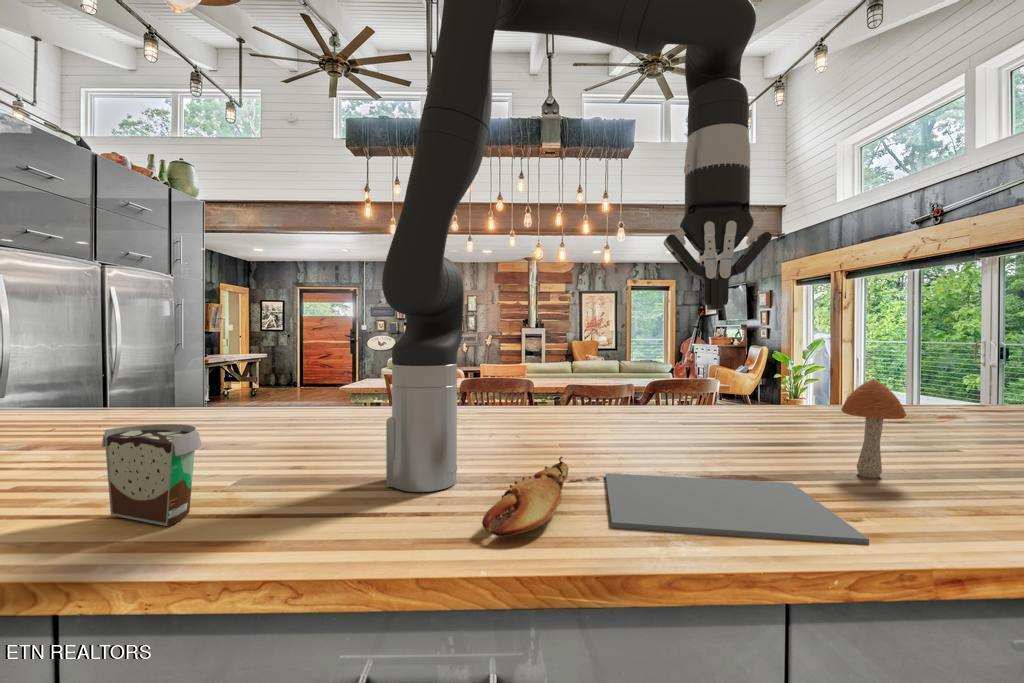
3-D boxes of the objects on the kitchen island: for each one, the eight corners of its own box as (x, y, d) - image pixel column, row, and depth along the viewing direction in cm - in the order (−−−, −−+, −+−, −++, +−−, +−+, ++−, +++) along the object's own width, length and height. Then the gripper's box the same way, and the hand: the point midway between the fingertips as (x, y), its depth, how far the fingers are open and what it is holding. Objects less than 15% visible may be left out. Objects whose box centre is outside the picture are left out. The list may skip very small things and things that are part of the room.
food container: (226, 508, 59) (225, 427, 59) (176, 527, 53) (176, 437, 53) (155, 496, 63) (155, 420, 63) (102, 513, 57) (101, 429, 57)
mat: (611, 527, 54) (612, 522, 54) (605, 477, 72) (605, 473, 72) (869, 544, 50) (869, 539, 50) (791, 486, 68) (791, 482, 68)
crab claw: (594, 459, 64) (527, 538, 47) (589, 493, 66) (522, 581, 49) (548, 444, 68) (468, 512, 50) (543, 476, 69) (465, 554, 52)
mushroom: (896, 473, 75) (897, 378, 75) (913, 488, 68) (915, 382, 68) (835, 467, 78) (836, 375, 78) (845, 481, 71) (847, 380, 71)
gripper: (666, 163, 58) (665, 308, 58) (785, 157, 55) (783, 308, 56) (657, 183, 65) (656, 311, 65) (762, 178, 63) (760, 311, 63)
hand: (715, 309), depth 61 cm, fingers closed
